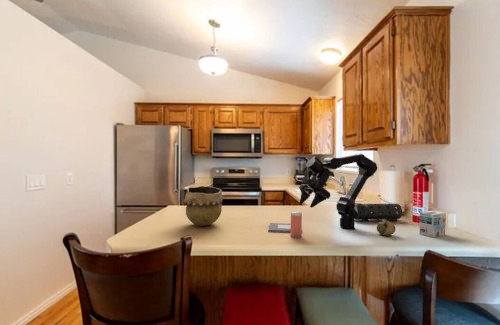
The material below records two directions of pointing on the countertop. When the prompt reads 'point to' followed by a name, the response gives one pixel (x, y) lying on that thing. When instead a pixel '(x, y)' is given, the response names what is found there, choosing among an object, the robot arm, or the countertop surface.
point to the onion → (385, 228)
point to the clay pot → (203, 204)
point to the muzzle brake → (378, 211)
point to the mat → (279, 227)
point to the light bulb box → (432, 223)
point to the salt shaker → (296, 224)
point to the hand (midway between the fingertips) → (305, 205)
